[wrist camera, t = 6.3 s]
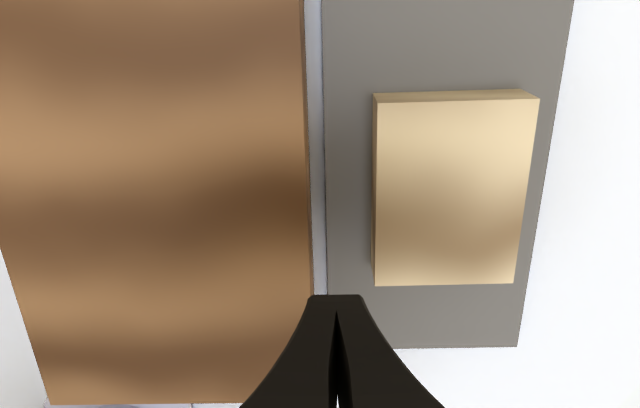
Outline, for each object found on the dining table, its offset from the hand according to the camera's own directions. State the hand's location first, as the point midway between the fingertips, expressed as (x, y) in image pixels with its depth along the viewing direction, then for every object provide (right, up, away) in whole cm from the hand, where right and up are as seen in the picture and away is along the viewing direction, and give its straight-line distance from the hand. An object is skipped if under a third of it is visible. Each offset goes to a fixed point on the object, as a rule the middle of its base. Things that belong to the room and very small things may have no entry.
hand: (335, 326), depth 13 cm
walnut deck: (-7, +4, +10) cm, 12 cm away
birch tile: (+5, +3, +7) cm, 9 cm away
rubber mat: (+5, +4, +9) cm, 11 cm away
